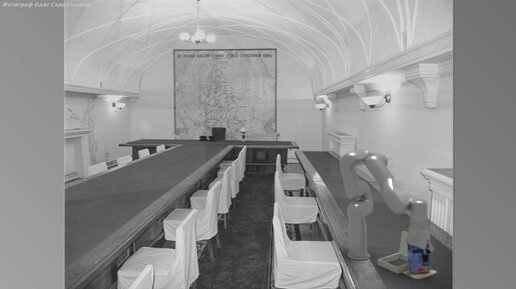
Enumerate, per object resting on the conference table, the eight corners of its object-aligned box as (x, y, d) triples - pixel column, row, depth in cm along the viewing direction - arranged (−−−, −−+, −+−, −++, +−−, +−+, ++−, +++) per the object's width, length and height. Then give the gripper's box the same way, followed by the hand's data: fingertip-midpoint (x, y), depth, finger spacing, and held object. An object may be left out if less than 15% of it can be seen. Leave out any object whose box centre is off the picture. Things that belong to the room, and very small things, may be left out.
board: (402, 273, 177) (402, 272, 177) (421, 266, 184) (420, 265, 184) (418, 280, 169) (418, 278, 169) (436, 272, 176) (436, 271, 176)
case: (377, 264, 188) (377, 238, 187) (403, 256, 198) (403, 230, 197) (397, 273, 177) (397, 245, 176) (424, 263, 187) (424, 236, 186)
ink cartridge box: (413, 273, 173) (413, 244, 172) (407, 269, 178) (406, 241, 178) (431, 271, 175) (431, 242, 174) (424, 267, 180) (423, 239, 179)
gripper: (399, 221, 181) (399, 255, 182) (430, 230, 165) (430, 267, 167) (409, 218, 184) (409, 252, 186) (440, 227, 169) (440, 263, 170)
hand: (419, 258), depth 176 cm, fingers closed on ink cartridge box, 6 cm apart
